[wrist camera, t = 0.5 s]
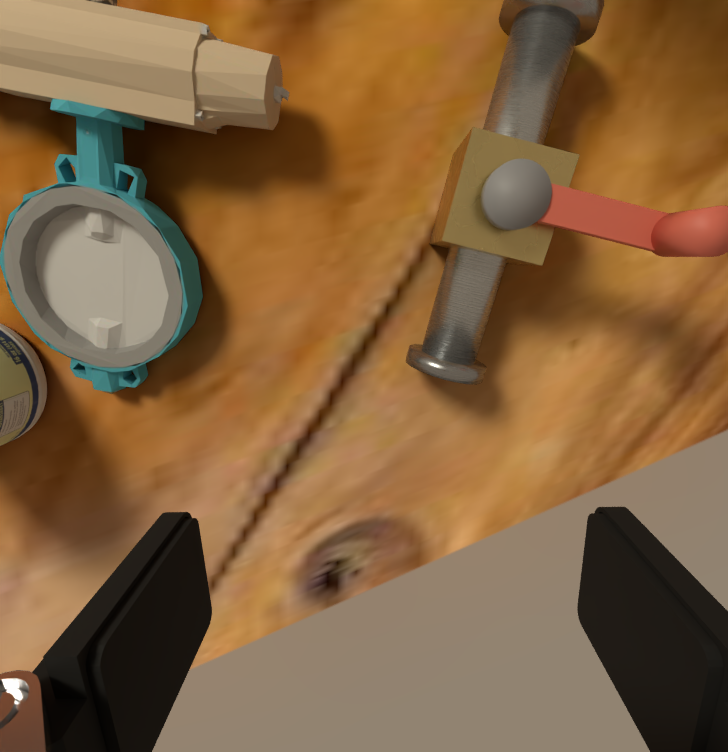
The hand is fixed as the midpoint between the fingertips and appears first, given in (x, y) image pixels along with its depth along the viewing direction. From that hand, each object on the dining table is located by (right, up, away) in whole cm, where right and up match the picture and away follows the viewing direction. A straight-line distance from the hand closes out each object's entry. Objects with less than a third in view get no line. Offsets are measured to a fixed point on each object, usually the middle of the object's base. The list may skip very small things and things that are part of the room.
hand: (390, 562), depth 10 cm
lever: (+13, +15, +18) cm, 26 cm away
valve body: (+9, +18, +25) cm, 32 cm away
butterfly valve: (-21, +18, +27) cm, 38 cm away
